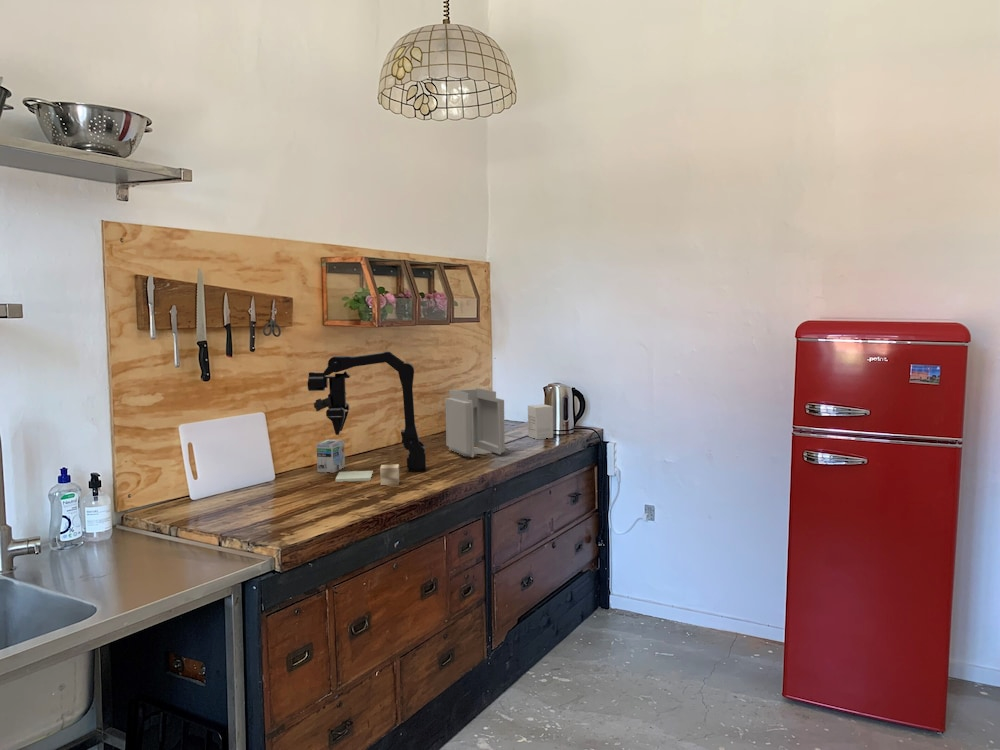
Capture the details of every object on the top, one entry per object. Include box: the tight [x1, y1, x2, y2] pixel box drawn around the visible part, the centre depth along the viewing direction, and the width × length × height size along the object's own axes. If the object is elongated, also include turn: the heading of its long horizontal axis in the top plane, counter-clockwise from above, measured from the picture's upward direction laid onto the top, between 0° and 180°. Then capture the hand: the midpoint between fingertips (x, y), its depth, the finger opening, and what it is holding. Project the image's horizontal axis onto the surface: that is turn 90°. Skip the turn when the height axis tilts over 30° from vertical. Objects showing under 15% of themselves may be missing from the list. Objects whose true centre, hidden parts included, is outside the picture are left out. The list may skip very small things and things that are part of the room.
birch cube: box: [379, 463, 400, 486], centre depth 251 cm, size 6×6×6 cm
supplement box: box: [527, 404, 554, 440], centre depth 340 cm, size 9×9×15 cm
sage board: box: [334, 470, 374, 483], centre depth 261 cm, size 12×12×1 cm
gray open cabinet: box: [445, 387, 506, 458], centre depth 304 cm, size 17×27×26 cm, turn 26°
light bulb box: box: [316, 438, 346, 474], centre depth 274 cm, size 11×7×11 cm, turn 168°
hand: (338, 432), depth 269 cm, fingers open, 9 cm apart
